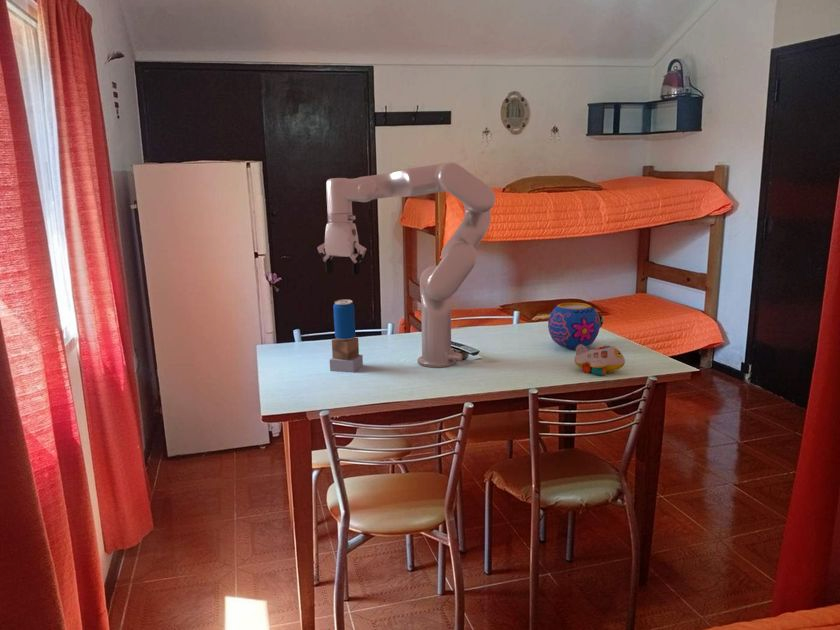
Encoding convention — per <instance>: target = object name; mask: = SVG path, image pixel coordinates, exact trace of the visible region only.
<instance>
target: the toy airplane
mask: <svg viewBox="0 0 840 630" xmlns="http://www.w3.org/2000/svg"><path fill="white" fill-rule="evenodd" d="M573 359H574V364H575V365H576V366H577V367H579V368H580V369H581V370H582V373H584V374H590V373H592V374H593V375H598V376H606V375H607V374H612V373H614V372H615V371H618V370H619V369H622V367H624V366H625V364H626V359H625V356H624V355H623V354H622V352H621V351H620V350H619V349H618V348H617V347H615V346H612V345H601V346H597V347H594V348H593V349H590V350H589V349H588V348H587V346H586V347H585V346H584V345H582V344H580V345H578V346H577V347H576V349H575V356H574V358H573Z"/></svg>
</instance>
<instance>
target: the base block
mask: <svg viewBox="0 0 840 630" xmlns="http://www.w3.org/2000/svg"><path fill="white" fill-rule="evenodd" d="M363 356H364V355H363V354H359V356H358V357H355V358H353V359H350V360H341V359H334V358H333V357H332V358H330V359H329V371H330V372H337V373H338V372H341V373H355V372H357V371H358V370H359V369H360V368H362V367H363V366H364V361H363Z"/></svg>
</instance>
